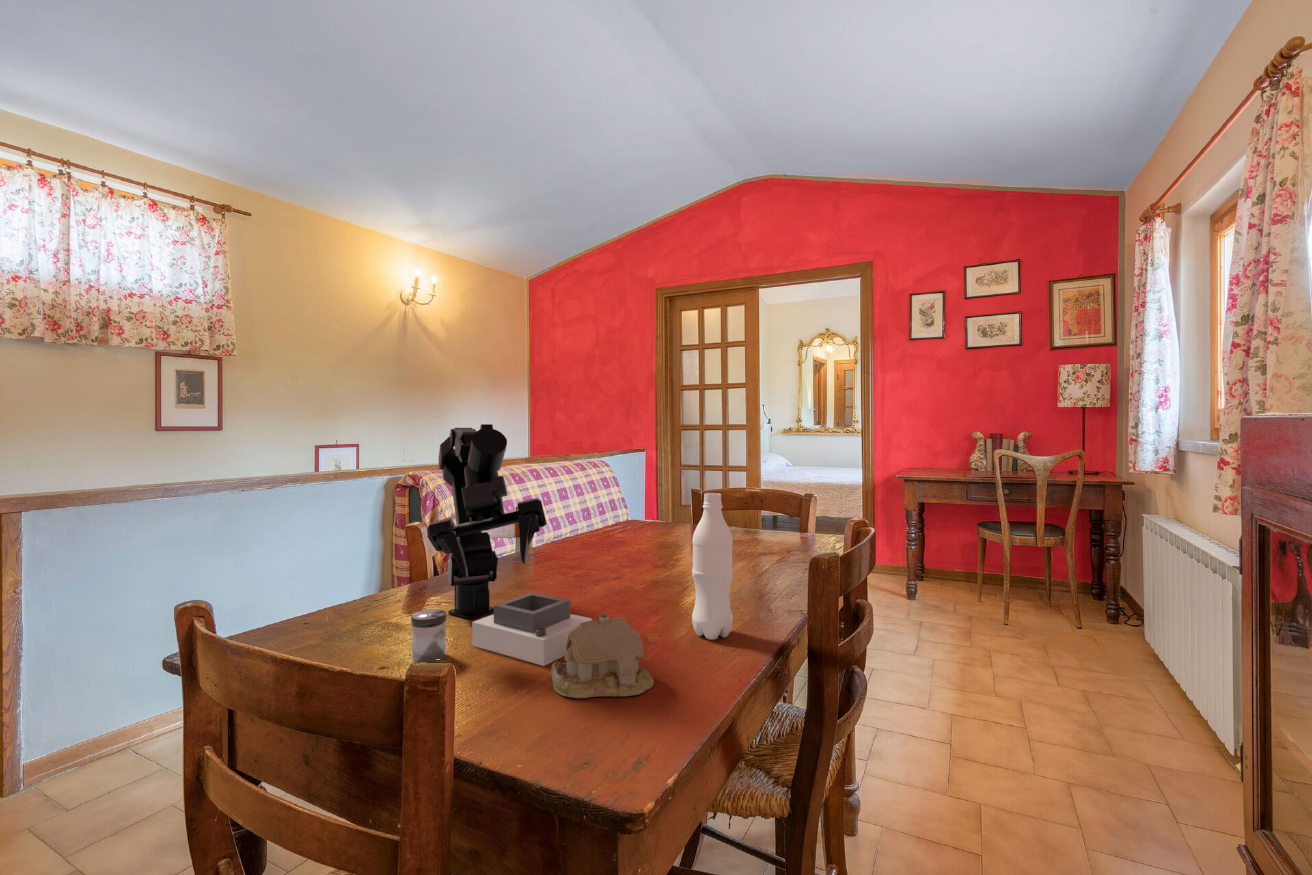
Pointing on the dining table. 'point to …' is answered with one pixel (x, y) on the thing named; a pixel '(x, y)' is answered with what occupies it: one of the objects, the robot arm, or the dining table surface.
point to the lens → (428, 635)
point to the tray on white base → (528, 628)
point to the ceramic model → (602, 661)
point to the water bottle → (712, 571)
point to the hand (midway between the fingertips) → (495, 570)
